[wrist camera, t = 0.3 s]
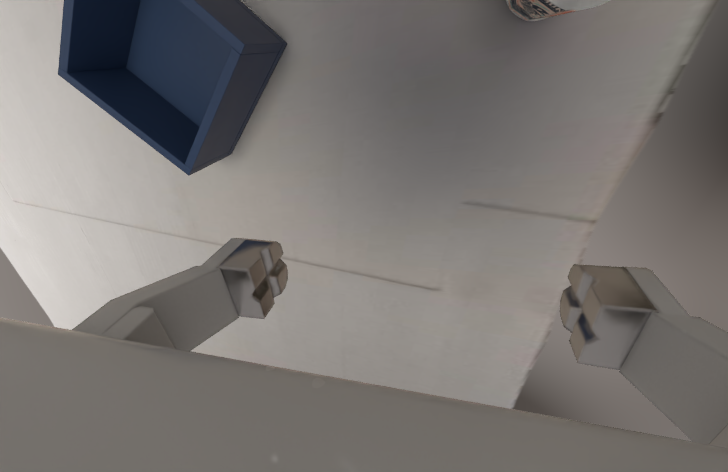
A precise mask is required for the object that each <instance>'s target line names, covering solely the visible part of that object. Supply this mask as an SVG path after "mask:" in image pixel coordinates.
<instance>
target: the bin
mask: <svg viewBox="0 0 728 472" xmlns="http://www.w3.org/2000/svg"><path fill="white" fill-rule="evenodd" d="M286 45H287V43H286V42H285V41H284V40H283V39H282V38H281V37H279V36H278V35H277V34H276V33H275V32H274V31H273V30H272V29H271V28H270V27H268V26H267V25H266V24H265V23H264V22H263V21H262V20H261V19H260V18H258V17H257V16H256V15H255V14H254V13H253V12H252V11H251V10H250V9H248V8H247V7H246V6H245V5H244V4H243V3H242V2H241V1H240V0H64V7H63V19H62V32H61V45H60V57H59V69H58V75H59V76H61V77H62V78H63V79H65V80H66V81H67V82H69V83H70V84H71V85H72V86H74V87H75V88H76V89H78V90H79V91H80V92H81V93H83V94H84V95H85V96H87V97H88V98H89V99H91V100H92V101H93V102H94V103H96V104H97V105H98V106H100V107H101V108H102V109H103V110H105V111H106V112H107V113H109V114H110V115H111V116H112V117H114V118H115V119H116V120H118V121H119V122H120V123H122V124H123V125H124V126H125V127H127V128H128V129H129V130H131V131H132V132H133V133H134V134H136V135H137V136H138V137H140V138H141V139H142V140H144V141H145V142H146V143H147V144H149V145H150V146H151V147H153V148H154V149H155V150H156V151H158V152H159V153H160V154H162V155H163V156H164V157H166V158H167V159H168V160H169V161H171V162H172V163H173V164H175V165H176V166H177V167H178V168H180V169H181V170H182V171H184V172H185V173H186V174H187V175H191V174H193V173H195V172H197V171H199V170H201V169H203V168H205V167H207V166H209V165H211V164H213V163H215V162H217V161H219V160H221V159H223V158H225V157H227V156H229V155H230V154H232V152H233V150H234V148H235V146H236V144H237V142H238V140H239V138H240V136H241V134H242V132H243V130H244V128H245V126H246V124H247V122H248V120H249V118H250V116H251V114H252V112H253V110H254V108H255V106H256V104H257V102H258V100H259V98H260V96H261V94H262V92H263V90H264V88H265V86H266V84H267V82H268V80H269V78H270V76H271V74H272V72H273V70H274V68H275V66H276V64H277V62H278V60H279V59H280V57H281V55H282V53H283V51H284V49H285V47H286Z"/></svg>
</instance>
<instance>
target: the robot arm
mask: <svg viewBox="0 0 728 472" xmlns="http://www.w3.org/2000/svg"><path fill="white" fill-rule="evenodd" d="M282 255H283V250H282V247H281V244H279V243H278V242H276V241H266V240H255V239H244V238H233V239H231V240H229V241H228V242H227V243H226V244H225V245H224V246H223V247H222V248H220V249H219V250H218V251H217V252H216V253H215V254H214V255H213V256H211V257H210V258H209V259H208V260H207V261H206V262H205V263H204V264H202V265H201V266H195V267H192V268H190V269H187V270H185V271H182V272H180V273H177V274H175V275H172V276H170V277H167V278H165V279H162V280H160V281H157V282H155V283H152V284H150V285H147V286H145V287H142V288H140V289H137V290H135V291H132V292H130V293H127V294H125V295H122V296H120V297H118V298H115V299H113V300H110V301H109V302H108V303H106V304H105V305H104V306H103V307H101V308H100V309H99V310H97V311H96V312H95V313H93V314H92V315H91V316H89V317H88V318H87V319H86V320H84V321H83V322H82V323H80V324H79V325H78V326H76V327H75V328H74V329H72V330H68V329H62V328H57V327H51V326H46V325H40V324H34V323H29V322H23V321H18V320H12V319H6V318H0V472H728V332H726V331H724V330H722V329H721V328H719V327H717V326H715V325H713V324H711V323H709V322H708V321H706V320H704V319H702V318H700V317H693V316H690V315H689V314H688V313H687V312H686V310H685V309H684V308H683V307H682V306H681V305H680V303H679V302H678V301H677V300H676V299H675V297H674V296H673V295H672V294H671V293H670V292H669V290H668V289H667V288H666V287H665V286H664V284H663V283H662V282H661V281H660V280H659V278H658V277H657V276H656V275H655V274H654V273H653V272H652V271H651V270H649V269H647V268H637V267H609V266H595V265H578V264H574V265H573V266H572V268H571V269H570V272H569V275H568V279H569V281H570V283H571V286H569V287H568V288H566V289H565V290H564V291H563V293H562V297H561V300H560V315H561V320H562V323H563V326H564V327H565V328H566V329H568V330H569V331H570V332H571V333H572V334H571V337H570V340H569V342H570V344H571V347H572V350H573V352H574V355H575V357H576V360H577V362H578V363H579V364H585V365H591V366H597V367H604V368H610V369H616V370H620V371H619V372H620V373H621V374H622V375H623V376H624V377H625V378H626V379H628V380H629V381H630V382H631V383H632V384H633V385H634V386H635V387H636V388H637V389H638V390H639V391H640V392H641V393H642V394H643V395H644V396H645V397H646V398H647V399H648V400H649V401H651V402H652V403H653V404H654V405H655V406H656V407H657V408H658V409H659V410H660V411H661V412H662V413H663V414H664V415H665V416H666V417H667V418H668V419H669V420H671V422H673V423H674V424H675V425H676V426H677V427H678V428H679V429H680V430H681V431H682V432H683V433H684V434H685V435H686V436H687V437H688V438H689V439H690V440H691V441H692V442H691V441H686V440H681V439H675V438H669V437H664V436H658V435H653V434H647V433H642V432H636V431H630V430H624V429H619V428H614V427H608V426H602V425H597V424H591V423H586V422H580V421H575V420H569V419H563V418H558V417H552V416H547V415H541V414H536V413H530V412H525V411H519V410H514V409H508V408H502V407H497V406H491V405H486V404H480V403H475V402H469V401H464V400H458V399H452V398H447V397H441V396H436V395H430V394H425V393H419V392H413V391H408V390H402V389H397V388H391V387H386V386H380V385H374V384H369V383H363V382H358V381H352V380H347V379H341V378H335V377H330V376H324V375H319V374H313V373H308V372H302V371H296V370H291V369H285V368H280V367H274V366H269V365H263V364H257V363H252V362H246V361H241V360H235V359H230V358H224V357H218V356H213V355H207V354H202V353H196V352H191V350H192V349H194V348H195V347H197V346H198V345H200V344H201V343H203V342H204V341H205V340H207V339H208V338H210V337H211V336H213V335H214V334H216V333H217V332H219V331H220V330H221V329H223V328H224V327H226V326H227V325H229V324H230V323H232V322H233V321H235V320H236V319H238V318H239V316H241V317H250V318H259V319H264V318H265V317H266V315H267V314H268V312H269V311H270V309H271V308H272V307H273V305H274V304H275V303H274V297H276V296H278V295H280V294H281V293H282V292H283V290H284V289H285V287H286V283H287V280H288V270H287V266H286V264H285V263H284V262H283V261H282V260H281V259H280V258H281V257H282Z"/></svg>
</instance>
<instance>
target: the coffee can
mask: <svg viewBox="0 0 728 472" xmlns="http://www.w3.org/2000/svg"><path fill="white" fill-rule="evenodd" d="M609 1H611V0H506V2H507V4H508V6H509V9H510V10H511V11H512V12H513V13H514V14H515V15H516V16H517V17H519V18H521V19H523V20H526V21H538V20H543V19H546V18H549V17H553V16H557V15H561V14H565V13H569V12H573V11H580V10H585V9H590V8H595V7H598V6H600V5H603V4H605V3H607V2H609Z"/></svg>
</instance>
